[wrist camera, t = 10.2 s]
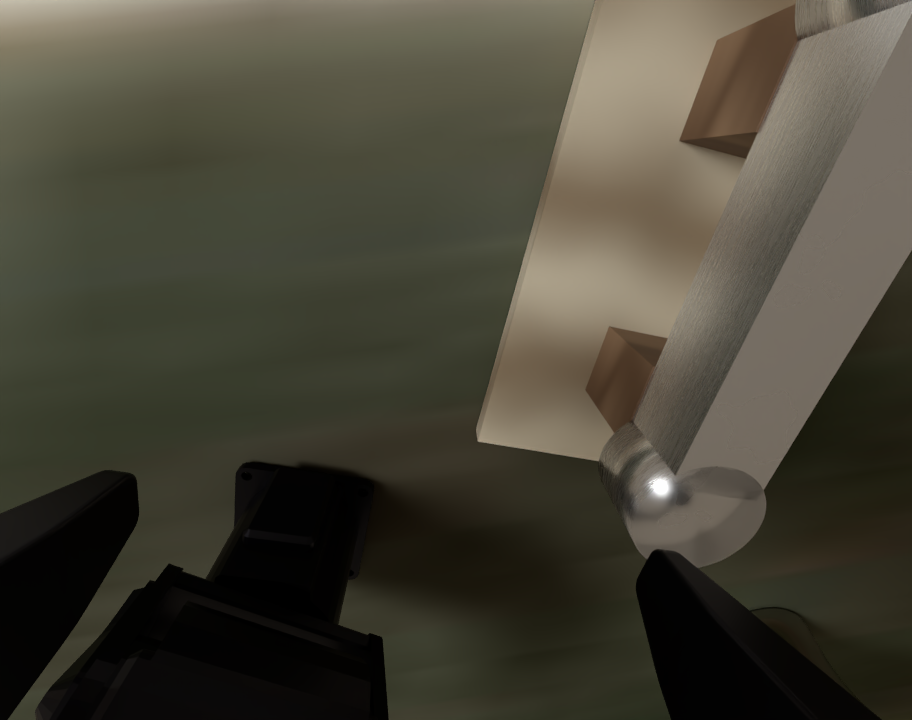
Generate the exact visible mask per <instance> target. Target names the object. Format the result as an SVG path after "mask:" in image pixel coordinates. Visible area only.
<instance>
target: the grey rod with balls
mask: <svg viewBox="0 0 912 720" xmlns="http://www.w3.org/2000/svg"><path fill="white" fill-rule="evenodd" d="M795 30H796V35H797V41H798V42H797V44H796V46H795V48H794V51H793V53H792V55H791V58H790V60H789V62H788V64H787V67H786V69H785V71H784V74H783V76H782V78H781V80H780V83H779V85H778V87H777V90H776V92H775V94H774V96H773V99H772V101H771V103H770V106H769V108H768V110H767V112H766V115H765V117H764V119H763V122H762V124H761V126H760V129H759V131H758V133H757V135H756V138H755V140H754V142H753V145H752V147H751V149H750V151H749V154H748V156H747V158H746V161H745V163H744V165H743V167H742V170H741V172H740V174H739V177H738V179H737V181H736V183H735V186H734V188H733V190H732V193H731V195H730V197H729V200H728V202H727V204H726V206H725V209H724V211H723V213H722V216H721V218H720V220H719V222H718V225H717V227H716V229H715V232H714V234H713V236H712V238H711V241H710V243H709V245H708V248H707V250H706V252H705V254H704V257H703V259H702V261H701V264H700V266H699V268H698V270H697V273H696V275H695V277H694V280H693V282H692V284H691V287H690V289H689V291H688V293H687V296H686V298H685V300H684V303H683V305H682V307H681V309H680V312H679V314H678V316H677V319H676V321H675V323H674V325H673V328H672V330H671V332H670V335H669V337H668V339H667V341H666V344H665V346H664V348H663V351H662V353H661V355H660V358H659V360H658V362H657V364H656V367H655V369H654V371H653V374H652V376H651V378H650V380H649V383H648V385H647V387H646V390H645V392H644V394H643V396H642V399H641V401H640V403H639V406H638V408H637V410H636V412H635V415H634V417H633V419H632V421H630V422H628V423H627V424H625V425H624V426H622V427H621V428H620V429H618V430H617V431H616V432H615V433H614V434H613V435H612V436H611V437H610V439H609V440H608V441H607V443H606V444H605V446H604V448H603V450H602V452H601V455H600V458H599V468H598V469H599V476H600V479H601V481H602V483H603V485H604V487H605V489H606V491H607V493H608V495H609V496H610V498H611V500H612V502H613V504H614V506H615V508H616V510H617V512H618V513H619V515H620V517H621V519H622V521H623V523H624V525H625V527H626V529H627V530H628V532H629V534H630V536H631V538H632V540H633V542H634V544H635V546H636V548H637V549H638V551H639V552H640V553H641V554H642V555H643V556H644V557H645V558H646V559H648V557H649V555H650V554H651V552H652V551H654V550H655V549H664V550H671V551H676V552H678V553H680V554H681V555H682V556H684V557H685V558H686V559H687V560H688V561H690V562H691V563H692V564H693V565H695V566H696V567H697V568H699V567H704V566H707V565H711V564H714V563H716V562H719V561H721V560H723V559H725V558H727V557H729V556H730V555H732V554H734V553H735V552H737V551H738V550H739V549H741V548H742V547H743V546H744V545H745V544H747V543H748V542H749V541H750V540H751V538H752V537H753V536H754V535H755V534H756V532H757V531H758V529H759V527H760V526H761V524H762V522H763V519H764V516H765V512H766V497H765V494H764V491H763V490H764V488H765V487H766V485H767V484H768V482H769V480H770V479H771V477H772V476H773V474H774V472H775V471H776V469H777V467H778V466H779V464H780V463H781V461H782V459H783V458H784V456H785V454H786V453H787V451H788V450H789V448H790V446H791V445H792V443H793V442H794V440H795V438H796V437H797V435H798V433H799V432H800V430H801V429H802V427H803V425H804V424H805V422H806V420H807V419H808V417H809V416H810V414H811V412H812V411H813V409H814V408H815V406H816V404H817V403H818V401H819V399H820V398H821V396H822V395H823V393H824V391H825V390H826V388H827V386H828V385H829V383H830V382H831V380H832V378H833V377H834V375H835V374H836V372H837V370H838V369H839V367H840V365H841V364H842V362H843V361H844V359H845V357H846V356H847V354H848V352H849V351H850V349H851V348H852V346H853V344H854V343H855V341H856V340H857V338H858V336H859V335H860V333H861V331H862V330H863V328H864V327H865V325H866V323H867V322H868V320H869V318H870V317H871V315H872V314H873V312H874V310H875V309H876V307H877V306H878V304H879V302H880V301H881V299H882V297H883V296H884V294H885V293H886V291H887V289H888V288H889V286H890V284H891V283H892V281H893V280H894V278H895V276H896V275H897V273H898V272H899V270H900V268H901V267H902V265H903V263H904V262H905V260H906V259H907V257H908V255H909V254H910V252H911V250H912V0H796V3H795Z"/></svg>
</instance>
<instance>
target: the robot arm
mask: <svg viewBox="0 0 912 720" xmlns="http://www.w3.org/2000/svg"><path fill="white" fill-rule="evenodd" d="M245 472H248V473H250V474H251V475H248V474H246V473H245ZM360 489H365V490H367V491H366V492H363V491H361V490H360ZM373 492H374V485H373V484H372V483H371V482H370V481H368V480H364V479H358V478H351V477H344V476H337V475H331V474H324V473H317V472H310V471H304V470H297V469H290V468H283V467H277V466H270V465H263V464H256V463H244V464H242V465H241V466H240V467H239V469H238V470H237V472H236V483H235V519H234V529H233V531H232V533H231V535H230V536H229V538H228V540H227V542H226V544H225V545H224V547H223V549H222V551H221V552H220V554H219V556H218V558H217V559H216V561H215V563H214V565H213V567H212V568H211V570H210V572H209V574H208V575H207V577H206V579H203V578H200V577H197V576H195V575H192V574H189V573H186V572H183V568H180V567H177V566H174V565H172V564H168V565H167V567H166V568H165V569H164V571H163V572H162V573H161V574H160V576H159V577H158V578H157V580H156V581H152V580H150V581H149V582H148V584H147V585H146V586H145V587H144V588H141V589H136V590H133V592H132V593H131V595H130V596H129V597H128V599H127V600H126V602H125V603H124V604H123V606H122V607H121V608H120V610H119V611H118V613H117V614H116V615H115V617H114V618H113V619H112V621H111V622H110V624H109V625H108V626H107V627H106V629H105V630H104V631H103V632H102V634H101V635H100V636H99V637H98V638H97V639H96V640H95V642H94V643H93V644H92V645H91V646H90V647H89V648H88V649H87V650H86V651H85V652H84V653H83V654H82V655H81V656H80V657H79V658H78V659H77V660H76V661H75V662H74V663H73V664H72V665H71V667H70V668H69V669H68V670H67V671H66V672H65V673H64V674H63V675H62V676H61V677H60V678H59V679H58V680H57V681H56V682H55V683H54V684H53V685H52V686H51V688H50V689H49V690H48V691H47V693H46V694H45V696H44V697H43V699H42V700H41V702H40V703H39V705H38V707H37V708H36V710H35V716H36V720H389V719H388V706H387V692H386V679H385V666H384V652H383V639H382V637H380V636H377V635H374V634H371V633H369V634H368V635H366V634H363V633H360V632H357V631H355V630H352V629H349V628H346V627H343V626H340V625H338V624H339V619H340V614H341V610H342V605H343V600H344V596H345V591H346V587H347V582H348V580H350V579H355V578H356V577H357V576H358V574H359V569H360V563H361V558H362V552H363V547H364V541H365V536H366V530H367V525H368V520H369V514H370V509H371V503H372V498H373ZM138 517H139V503H138V490H137V480H136V477H135V476H134V475H133V474H131V473H127V472H120V471H113V470H104V471H101V472H98V473H96V474H93V475H91V476H89V477H86V478H84V479H81V480H79V481H77V482H74V483H72V484H70V485H67V486H65V487H62V488H60V489H58V490H55V491H53V492H51V493H48V494H46V495H43V496H41V497H39V498H36V499H34V500H32V501H29V502H27V503H24V504H22V505H20V506H17V507H15V508H13V509H10V510H8V511H5V512H3V513H1V514H0V720H7V719H8V718H9V717H10V715H11V714H12V713H13V711H14V710H15V708H16V707H17V706H18V704H19V703H20V702H21V700H22V699H23V698H24V696H25V695H26V693H27V692H28V691H29V689H30V688H31V687H32V685H33V684H34V682H35V681H36V680H37V678H38V677H39V676H40V674H41V673H42V672H43V670H44V669H45V667H46V666H47V665H48V663H49V662H50V661H51V659H52V658H53V656H54V655H55V654H56V652H57V651H58V650H59V648H60V647H61V646H62V644H63V643H64V641H65V640H66V639H67V637H68V636H69V634H70V633H71V631H72V630H73V629H74V627H75V626H76V624H77V623H78V621H79V619H80V618H81V616H82V615H83V613H84V612H85V610H86V608H87V607H88V605H89V603H90V602H91V600H92V598H93V597H94V595H95V593H96V592H97V590H98V588H99V587H100V585H101V583H102V582H103V580H104V578H105V577H106V575H107V573H108V572H109V570H110V568H111V567H112V565H113V563H114V562H115V560H116V558H117V557H118V555H119V553H120V552H121V550H122V548H123V547H124V545H125V543H126V541H127V540H128V538H129V536H130V535H131V533H132V531H133V530H134V528H135V526H136V524H137V521H138ZM636 593H637V598H638V602H639V606H640V610H641V614H642V618H643V622H644V626H645V630H646V634H647V638H648V642H649V646H650V650H651V654H652V658H653V662H654V666H655V670H656V673H657V677H658V681H659V684H660V687H661V690H662V694H663V697H664V700H665V703H666V706H667V709H668V712H669V714H670V717H671V720H881V719H880V718H879V717H878V716H877V715H875V714H874V713H873V712H872V711H871V710H869V709H868V708H867V707H866V706H864V705H863V704H862V703H861V702H860V701H858V700H857V699H856V698H855V697H854V696H852V695H851V694H850V693H849V692H847V691H846V690H845V689H844V688H843V687H841V686H840V685H839V684H838V683H837V682H835V681H834V680H833V679H832V678H830V677H829V676H828V675H827V674H826V673H824V672H823V671H822V670H821V669H820V668H818V667H817V666H816V665H815V664H813V663H812V662H811V661H810V660H809V659H807V658H806V657H805V656H804V655H803V654H801V653H800V652H799V651H798V650H796V649H795V648H794V647H793V646H792V645H790V644H789V643H788V642H787V641H786V640H784V639H783V638H782V637H781V636H779V635H778V634H777V633H776V632H775V631H773V630H772V629H771V628H770V627H769V626H767V625H766V624H765V623H764V622H762V621H761V620H760V619H759V618H758V617H756V616H755V615H754V614H753V613H752V612H750V611H749V610H748V609H747V608H746V607H744V606H743V605H742V604H741V603H739V602H738V601H737V600H736V599H735V598H733V597H732V596H731V595H730V594H729V593H727V592H726V591H725V590H724V589H722V588H721V587H720V586H719V585H718V584H716V583H715V582H714V581H713V580H712V579H710V578H709V577H708V576H707V575H705V574H704V573H703V572H702V571H701V570H699V569H698V568H697V567H696V566H695V565H693V564H692V563H691V562H690V561H688V560H687V559H686V558H685V557H684V556H682V555H681V554H680V553H678V552H676V551H671V550H664V549H655V550H654V551H652V552H651V554H650V555H649V557H648V559H647V561H646V563H645V565H644V567H643V568H642V570H641V572H640V574H639V576H638V578H637V582H636Z"/></svg>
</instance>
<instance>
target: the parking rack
mask: <svg viewBox="0 0 912 720" xmlns="http://www.w3.org/2000/svg"><path fill="white" fill-rule="evenodd" d="M795 3H796V0H595V4H594V8H593V11H592V15H591V18H590V22H589V26H588V29H587V33H586V36H585V40H584V43H583V47H582V51H581V54H580V58H579V61H578V65H577V69H576V72H575V76H574V79H573V83H572V87H571V90H570V94H569V97H568V101H567V105H566V108H565V112H564V115H563V119H562V123H561V126H560V130H559V133H558V137H557V141H556V144H555V148H554V151H553V155H552V158H551V162H550V166H549V169H548V173H547V176H546V180H545V184H544V187H543V191H542V194H541V198H540V202H539V205H538V209H537V212H536V216H535V220H534V223H533V227H532V230H531V234H530V238H529V241H528V245H527V248H526V252H525V255H524V259H523V263H522V266H521V270H520V273H519V277H518V281H517V284H516V288H515V291H514V295H513V299H512V302H511V306H510V309H509V313H508V317H507V320H506V324H505V327H504V331H503V335H502V338H501V342H500V345H499V349H498V353H497V356H496V360H495V363H494V367H493V370H492V374H491V378H490V381H489V385H488V388H487V392H486V396H485V399H484V403H483V406H482V410H481V414H480V417H479V421H478V424H477V428H476V432H477V439H478V441H479V442H485V443H491V444H497V445H503V446H509V447H515V448H521V449H527V450H533V451H540V452H546V453H552V454H558V455H564V456H570V457H576V458H582V459H588V460H594V461H599V458H600V455H601V452H602V450H603V448H604V446H605V444H606V443H607V441H608V440H609V439H610V437H611V436H612V435H613V434H614V433H615V432H616V431H617V430H618V429H620V428H621V427H622V426H624V425H625V424H627V423H628V422H630V421H632V419H633V417H634V415H635V412H636V410H637V408H638V406H639V403H640V401H641V399H642V396H643V394H644V392H645V390H646V387H647V385H648V383H649V380H650V378H651V376H652V374H653V371H654V369H655V367H656V364H657V362H658V360H659V358H660V355H661V353H662V351H663V348H664V346H665V344H666V341H667V339H668V337H669V335H670V332H671V330H672V328H673V325H674V323H675V321H676V319H677V316H678V314H679V312H680V309H681V307H682V305H683V303H684V300H685V298H686V296H687V293H688V291H689V289H690V287H691V284H692V282H693V280H694V277H695V275H696V273H697V270H698V268H699V266H700V264H701V261H702V259H703V257H704V254H705V252H706V250H707V248H708V245H709V243H710V241H711V238H712V236H713V234H714V232H715V229H716V227H717V225H718V222H719V220H720V218H721V216H722V213H723V211H724V209H725V206H726V204H727V202H728V200H729V197H730V195H731V193H732V190H733V188H734V186H735V183H736V181H737V179H738V177H739V174H740V172H741V170H742V167H743V165H744V163H745V161H746V158H747V156H748V154H749V151H750V149H751V147H752V145H753V142H754V140H755V138H756V135H757V133H758V131H759V129H760V126H761V124H762V122H763V119H764V117H765V115H766V112H767V110H768V108H769V106H770V103H771V101H772V99H773V96H774V94H775V92H776V90H777V87H778V85H779V83H780V80H781V78H782V76H783V74H784V71H785V69H786V67H787V64H788V62H789V60H790V58H791V55H792V53H793V51H794V48H795V46H796V44H797V42H798V41H797V35H796V30H795Z"/></svg>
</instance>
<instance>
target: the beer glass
mask: <svg viewBox="0 0 912 720" xmlns="http://www.w3.org/2000/svg"><path fill="white" fill-rule="evenodd" d="M750 612H752V613H753V614H754V615H755V616H756V617H758V618H759V619H760V620H761V621H762V622H764V623H765V624H766V625H767V626H769V627H770V628H771V629H772V630H773V631H775V632H776V633H777V634H778V635H779V636H781V637H782V638H783V639H784V640H786V641H787V642H788V643H789V644H790V645H792V646H793V647H794V648H795V649H796V650H798V651H799V652H800V653H801V654H803V655H804V656H805V657H806V658H807V659H809V660H810V661H811V662H812V663H813V664H815V665H816V666H817V667H818V668H820V669H821V670H822V671H823V672H824V673H826V674H827V675H828V676H829V677H830V678H832V679H833V680H834V681H835V682H837V683H838V684H839V685H840V686H841V687H843V688H844V689H845V690H846V691H847V692H849V693H850V694H851V695H852V696H854V697H855V698H856V699H857V700H858V701H860V700H859V699H858V698H857V697H856V696H855V695H854V694H853V692H852V691H851V690H850V689H849V688H848V687H847V686H846V684H845V683H844V682H843V681H842V680H841V678H840V677H839V676H838V674H837V673H836V672H835V670H834V669H833V668H832V666H831V664H830V663H829V661H828V660H827V658H826V657H825V655H824V653H823V652H822V650H821V648H820V647H819V645H818V643H817V641H816V640H815V638H814V636H813V634H812V633H811V631H810V629H809V628H808V626H807V625H806V623H805V622H804V621H803V620H802V619H801V618H800V617H799V616H798V615H797V614H795V613H793V612H791V611H788V610H785V609H779V608H765V609H759V610H754V611H750ZM860 702H861V701H860ZM861 703H862V702H861ZM862 704H863V703H862ZM863 705H864V704H863ZM864 706H865V705H864Z"/></svg>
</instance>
